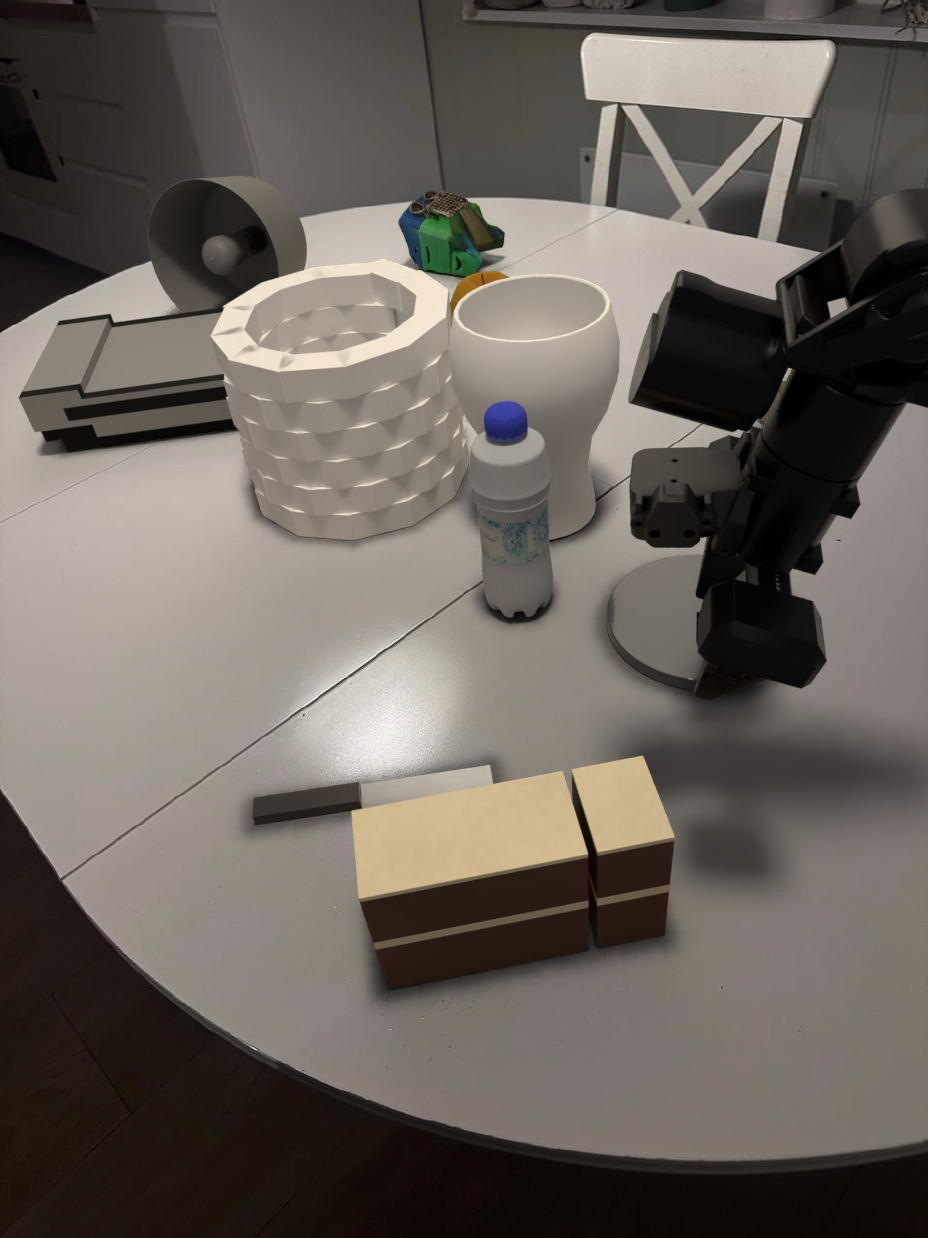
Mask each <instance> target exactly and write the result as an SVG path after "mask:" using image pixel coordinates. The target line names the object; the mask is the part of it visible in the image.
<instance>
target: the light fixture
mask: <svg viewBox="0 0 928 1238" xmlns="http://www.w3.org/2000/svg"><path fill="white" fill-rule="evenodd" d="M307 243H308V242H307V237H306V232H305V229H304V226H303V223H302V220H301V218H300V216H299V215H298V212H297V211H296V209H295V207H294V205H293V204H292V203H291V202H290V200H289V199H288V198H287V197H286V196H285V195H284V193H282V191H280V190H279V189H277V187H275V186H274V185H272V184H271V183H269V182H268V181H265V180H263V179H260V178H258V177H254V176H249V175H231V176H213V177H200V178H190V179H189V178H188V179H184V180H181V181H178V182H176V183H174V184H172V185H171V186H169V187H168V188H166V189H165V190H164V191H163V192H162V194H161V195H159V197H158V198H157V199H156V202H155V203H154V205H153V206H152V210H151V213H150V215H149V220H148V227H147V246H148V253H149V257H150V262H151V264H152V268H153V270H154V272H155V276H156V278H157V280H158V282H159V284H160V286H161V287H162V289H163V290H164V292H165V294H166V295H167V297H168V298H169V299H170V301H172V303H173V304H174V305H175V306H176V307H177V308H178V309H179V310H180V311H181V313H186V312H194V311H201V310H208V309H216V308H223V306H224V305H226V304H228V303H229V302H231V301H233V300H234V299H236V298H238V297H239V296H241V295H242V294H244V293H246V292H247V291H249V290H251V289H252V288H254V287H255V286H257V285H259V284H260V283H262V282H265V281H269V280H272V279H276V278H279V277H282V276H286V275H289V274H293V273H296V272H299V271H303V270H305V268H306V264H307V259H308V258H307V257H308V255H307V254H308V244H307Z"/></svg>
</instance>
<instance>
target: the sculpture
mask: <svg viewBox="0 0 928 1238" xmlns="http://www.w3.org/2000/svg"><path fill="white" fill-rule="evenodd" d="M397 224H398V227H399V229H400V231H401V233H402V235H403V237H404V241H405V243H406V246H407V249H408V255H409V256H410V258H411V260H412V261H413V263H414V264H415V265H416V266H418V267H419V269H420V270H422V271H425V272H428V271H434V272H436V273H441V274H449V275H454V276H458V277H463V278H465V277H467V276H469V275H472V274H475V273H479V272H478V271H479V270H480V267H481V266H482V264H483V262H484V261H483V259H482V255H481V253H482V254H483V253H485V252H489V251H493V250H496V249H497V250H498V249H502V248H504V245H505V236H506V232H505V231H503V229H501V228H500V227H498V226H496V225H493V224H490V223H488V221H486V219H485V218H484V216H483V213H482V209H481V207H480V205H478V204H477V203H476V202H472V201H469V200H468V199H467V198H466V197H465V196H462V195H459V194H455V193H452V192H449V191H446V190H442V189H440V192H438V191H435V190H427V191H424V192H422V194H421V195H420V196H418V198H416V199H415V200H412V202H411V203H410V204H409V205H408V206H407V208H405V210H404V211H403V212H402V214H401V215H400V217H399V218H398V221H397Z"/></svg>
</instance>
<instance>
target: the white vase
mask: <svg viewBox="0 0 928 1238" xmlns="http://www.w3.org/2000/svg"><path fill="white" fill-rule="evenodd" d="M620 345H621V340H620V335H619V330H618V327H617V323H616V318H615V314H614V309H613V305H612V302H611V300H610V297H609V294H608V293H607V292H606V291H605V290H604V289H603V288H602V287H601V286H600V285H598V284H595V283H593V282H591V281H589V280H587V279H583V278H579V277H576V276H573V275H563V274H554V273H534V274H524V275H516V276H515V275H514V276H509V278H506V279H501V280H497V281H494V282H491V283H488V284H486V285H483V286H480V287H478V288H477V289H475V290H473V291H471V292H469V293H468V294H467V295H465V296H464V297H463V298H462V299H461V300H460V301H459V302H458V304H457V306H456V308H455V310H454V312H453V320H452V328H451V336H450V344H449V359H450V367H451V376H452V384H453V390H454V392H455V394H456V396H457V399H458V401H459V403H460V406H461V408H462V410H463V412H464V415H463V416H464V417H465V418H466V420H467V422H468V423H469V425H470V426H471V428H472V429H473V430H474V432H475V433H476V434H477V436H478V435H479V434H481V433H483V432H484V431H485V427H484V416H485V412H486V411H487V409H488V408H489V407H490V406H491V405H493V404H495V403H498V402H503V401H512V402H516V403H518V404H520V405H521V406H522V407H523V408H524V409H525V411H526V414H527V423H528V427H529V428H532V429H534V430H536V431H537V432H539V433H540V434H541V435H542V437H543V439H544V441H545V445H546V450H547V455H548V460H549V466H550V469H551V480H550V483H551V491H550V494H549V496H548V498H547V500H548V523H549V541H550V540H557V539H560V538H563V537H567V536H569V535H572V534H574V533H576V532H578V531H580V530H582V528H584V527H585V526H586V525H588V523H590V522H591V520H592V518H594V517H593V516H594V515H595V512H596V508H597V502H596V495H595V488H594V484H593V479H592V473H591V469H590V464H589V463H590V462H589V460H590V455H591V454H590V453H591V449H592V441H593V436H594V435H595V433H596V431H597V430H598V427H599V426H600V424H601V422H602V421H603V419H604V417H605V416H606V414H607V412H608V410H609V407H610V404H611V401H612V397H613V394H614V391H615V388H616V386H617V383H618V378H619V373H620V351H621V350H620V349H621V347H620Z"/></svg>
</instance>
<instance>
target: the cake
mask: <svg viewBox="0 0 928 1238" xmlns="http://www.w3.org/2000/svg"><path fill="white" fill-rule="evenodd" d="M350 814H351V827H352V828H351V829H352V840H353V850H354V863H355V874H356V886H357V887H356V888H357V898H358V901H359V905H360V907H361V911H362V913H363V917H364V920H365V924H366V926H367V928H368V932H369V935H370V939H371V941H372V944H373V947H374V948H373V949H374V951H375V954H376V956H377V960H378V963H379V966H380V969H381V972H382V976H383V978H384V982H385V984H386V987H387V990H388V991H391V990H396V989H402V988H407V987H411V986H416V985H421V984H426V983H431V982H436V981H441V980H445V979H451V978H456V977H461V976H465V975H466V976H467V975H472V974H475V973H476V974H477V973H480V972H481V973H482V972H485V971H491V970H495V969H501V968H506V967H511V966H515V965H521V964H526V963H531V962H535V961H540V960H545V959H550V958H555V957H556V958H557V957H560V956H567V955H570V954H571V955H572V954H575V953H581V952H586V951H588V950H589V948H590V947H589V945H590V943H589V939H590V938H589V937H590V936H589V934H590V933H589V931H590V930H589V929H590V928H589V919H588V852H587V848H586V845H585V842H584V839H583V835H582V832H581V829H580V825H579V822H578V819H577V816H576V812H575V809H574V806H573V803H572V795H571V794H570V790H569V786H568V783H567V781H566V777H565V773H564V771H563V770H559V771H554V772H549V773H544V774H538V775H533V776H528V777H523V778H518V779H517V778H516V779H512V780H506V781H501V782H496V783H494V784H491V785H485V786H480V787H475V788H469V789H464V790H459V791H454V792H448V793H443V794H438V795H433V796H427V797H422V798H417V799H412V800H406V801H401V802H396V803H391V804H385V805H380V806H375V807H369V808H364V809H356V810H350Z"/></svg>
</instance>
